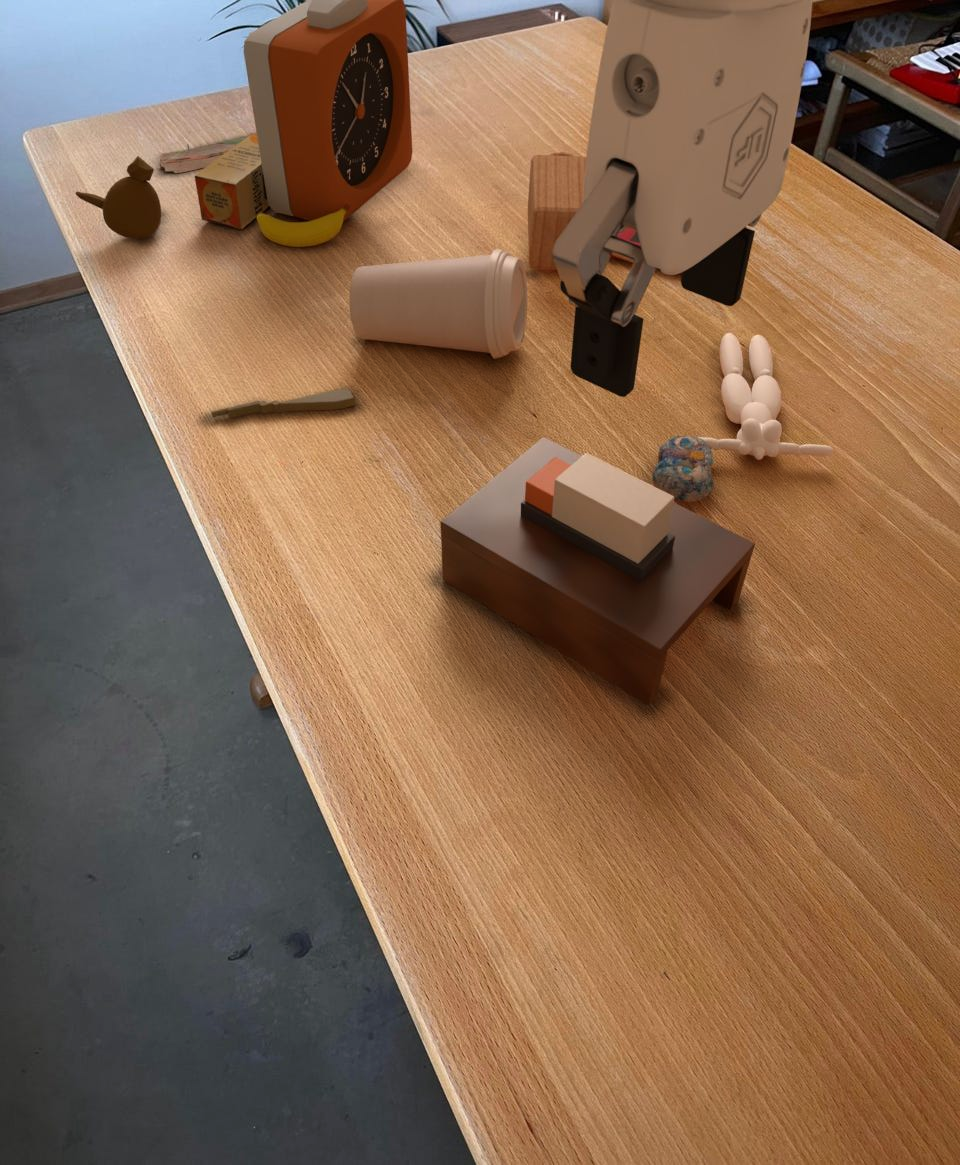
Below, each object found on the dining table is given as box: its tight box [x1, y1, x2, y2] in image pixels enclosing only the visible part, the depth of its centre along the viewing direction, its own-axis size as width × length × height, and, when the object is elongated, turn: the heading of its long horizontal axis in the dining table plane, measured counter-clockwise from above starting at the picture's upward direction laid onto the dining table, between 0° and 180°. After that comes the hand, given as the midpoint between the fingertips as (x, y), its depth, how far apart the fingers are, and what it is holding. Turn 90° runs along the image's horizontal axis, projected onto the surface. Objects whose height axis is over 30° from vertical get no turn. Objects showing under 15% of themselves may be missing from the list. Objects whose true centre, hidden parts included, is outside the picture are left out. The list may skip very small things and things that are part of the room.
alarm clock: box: [243, 0, 413, 223], centre depth 107 cm, size 18×9×21 cm, turn 154°
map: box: [159, 136, 247, 174], centre depth 122 cm, size 5×20×1 cm, turn 121°
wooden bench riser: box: [439, 436, 756, 707], centre depth 71 cm, size 18×12×6 cm, turn 51°
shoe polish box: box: [194, 133, 270, 230], centre depth 111 cm, size 5×5×12 cm
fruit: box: [255, 204, 350, 248], centre depth 106 cm, size 10×2×5 cm
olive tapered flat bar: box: [211, 386, 356, 419], centre depth 87 cm, size 12×2×1 cm, turn 103°
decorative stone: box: [651, 434, 715, 503], centre depth 80 cm, size 6×4×5 cm
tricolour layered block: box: [521, 452, 675, 581], centre depth 67 cm, size 10×4×5 cm, turn 51°
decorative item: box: [527, 151, 586, 271], centre depth 107 cm, size 7×7×20 cm
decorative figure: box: [693, 332, 835, 461], centre depth 87 cm, size 4×12×18 cm
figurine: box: [75, 155, 162, 240], centre depth 106 cm, size 8×8×6 cm
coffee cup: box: [348, 248, 528, 360], centre depth 92 cm, size 10×10×15 cm
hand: (658, 337), depth 49 cm, fingers open, 9 cm apart
